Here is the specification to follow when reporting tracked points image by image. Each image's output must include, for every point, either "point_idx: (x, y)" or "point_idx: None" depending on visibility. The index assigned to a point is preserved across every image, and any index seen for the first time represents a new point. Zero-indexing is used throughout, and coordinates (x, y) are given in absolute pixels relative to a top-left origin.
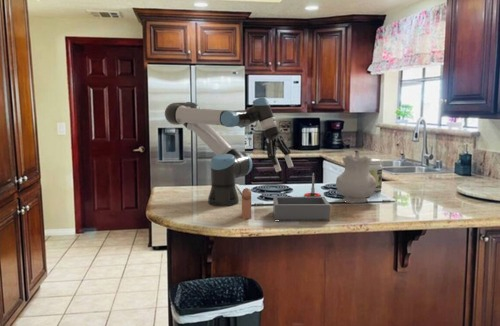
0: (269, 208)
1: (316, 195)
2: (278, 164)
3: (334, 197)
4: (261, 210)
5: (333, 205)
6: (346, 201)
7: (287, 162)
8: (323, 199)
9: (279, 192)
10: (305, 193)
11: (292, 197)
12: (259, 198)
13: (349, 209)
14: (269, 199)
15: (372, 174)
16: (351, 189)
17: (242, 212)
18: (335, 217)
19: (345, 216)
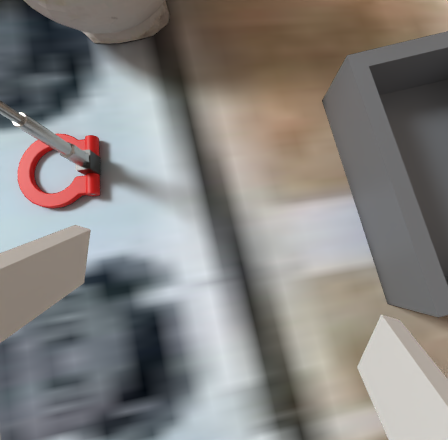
0: (335, 333)
1: (91, 147)
2: (444, 381)
3: (76, 80)
4: None
5: (215, 74)
6: (150, 29)
7: (36, 303)
8: (409, 53)
9: (5, 344)
10: (40, 205)
11: (418, 206)
12: (154, 428)
13: (262, 16)
14: (165, 368)
15: None
16: None
17: None
18: None
19: (365, 24)
